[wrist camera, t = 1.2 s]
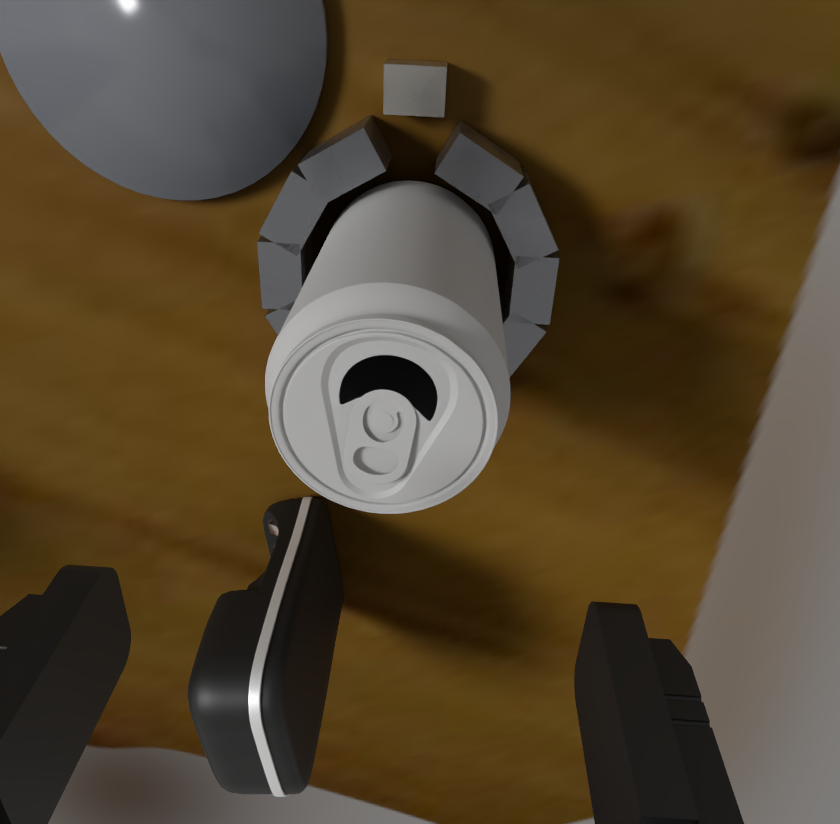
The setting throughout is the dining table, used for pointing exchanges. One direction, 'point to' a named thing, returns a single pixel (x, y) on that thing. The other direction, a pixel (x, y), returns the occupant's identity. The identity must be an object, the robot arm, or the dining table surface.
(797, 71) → the dining table surface
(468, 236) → the beverage can
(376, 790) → the dining table surface
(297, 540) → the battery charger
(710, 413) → the dining table surface
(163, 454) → the dining table surface
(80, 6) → the coaster
